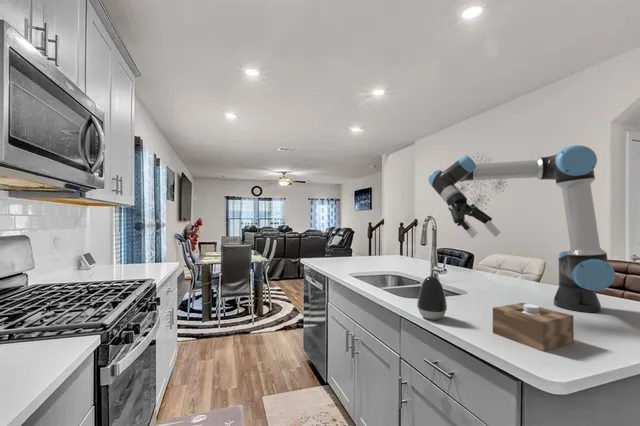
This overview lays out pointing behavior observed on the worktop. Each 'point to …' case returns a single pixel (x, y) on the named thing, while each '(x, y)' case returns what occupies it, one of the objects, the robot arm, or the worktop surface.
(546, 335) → the drop box
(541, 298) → the worktop surface
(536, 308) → the pill bottle
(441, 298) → the dark grey egg speaker
